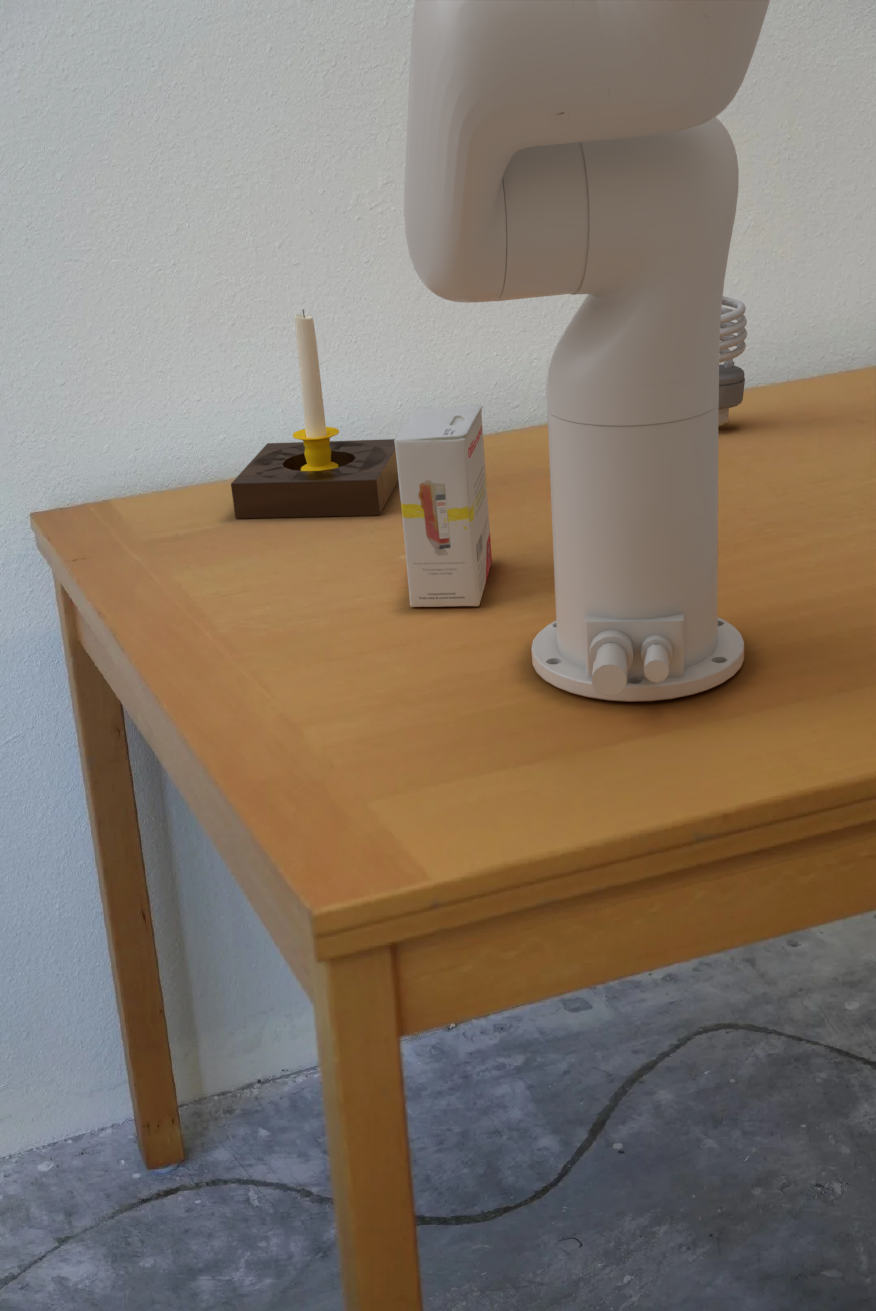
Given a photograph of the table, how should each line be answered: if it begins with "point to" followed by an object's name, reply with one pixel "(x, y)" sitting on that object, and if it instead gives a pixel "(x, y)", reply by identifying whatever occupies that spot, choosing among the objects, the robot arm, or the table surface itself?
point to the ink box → (444, 506)
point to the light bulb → (731, 357)
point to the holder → (317, 481)
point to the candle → (312, 400)
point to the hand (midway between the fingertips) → (516, 58)
